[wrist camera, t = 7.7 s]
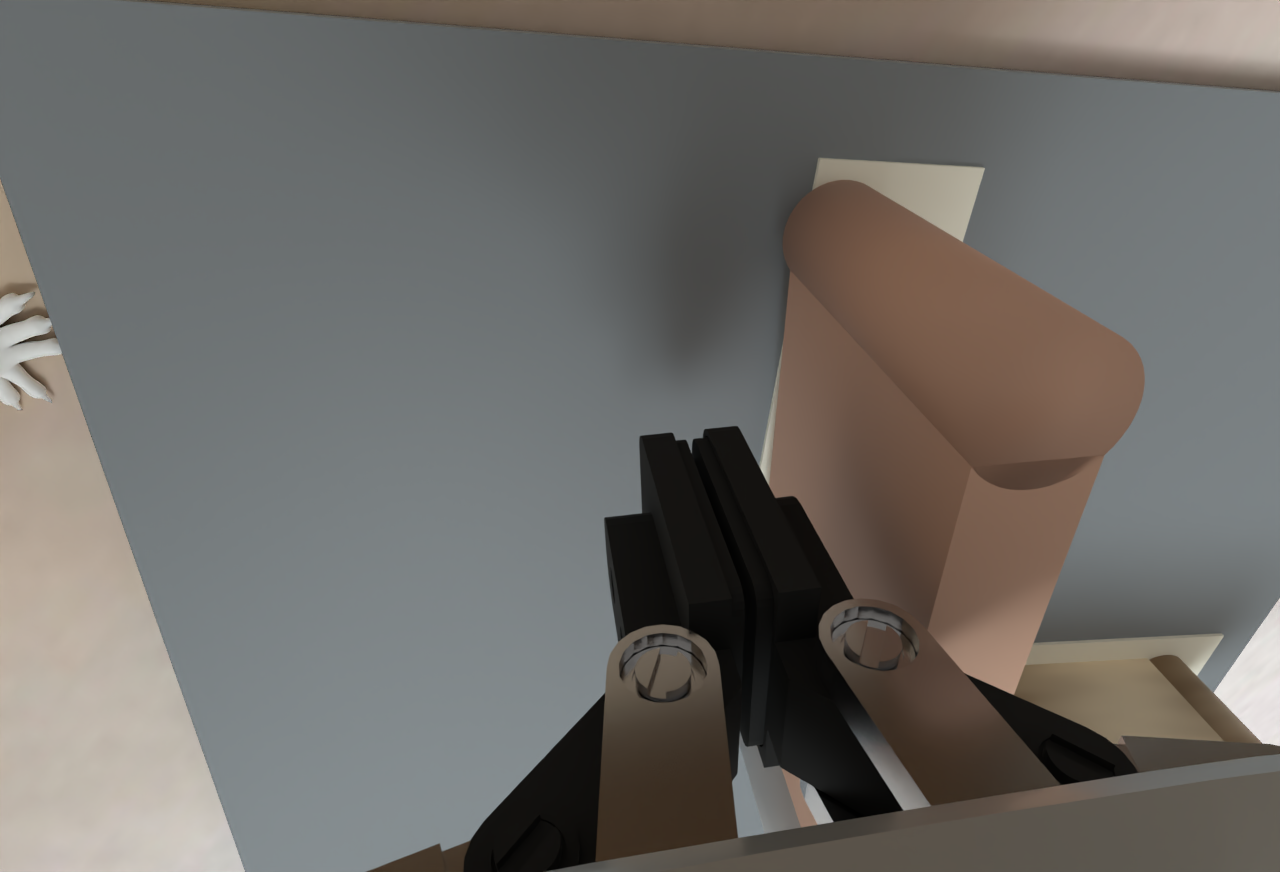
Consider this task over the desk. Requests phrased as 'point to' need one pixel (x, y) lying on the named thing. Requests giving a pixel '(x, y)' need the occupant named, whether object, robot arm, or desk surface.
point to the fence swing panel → (935, 432)
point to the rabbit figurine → (22, 350)
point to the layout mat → (566, 354)
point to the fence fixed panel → (1133, 699)
